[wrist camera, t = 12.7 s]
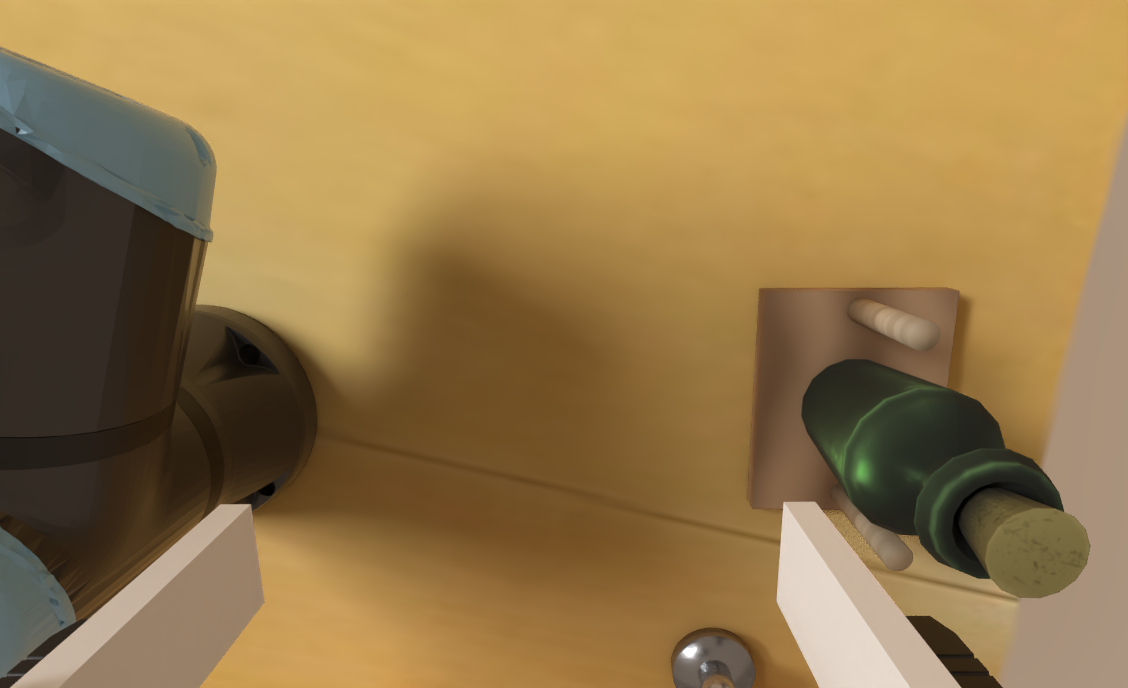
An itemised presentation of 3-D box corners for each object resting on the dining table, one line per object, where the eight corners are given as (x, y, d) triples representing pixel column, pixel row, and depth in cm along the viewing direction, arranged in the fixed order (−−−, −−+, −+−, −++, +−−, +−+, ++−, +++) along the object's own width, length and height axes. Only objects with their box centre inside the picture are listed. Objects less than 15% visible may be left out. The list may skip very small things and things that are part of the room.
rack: (747, 498, 45) (787, 575, 36) (759, 288, 42) (807, 313, 32) (920, 500, 45) (1006, 579, 35) (946, 287, 41) (1049, 312, 32)
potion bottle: (761, 420, 42) (882, 576, 25) (841, 320, 40) (1031, 412, 23) (858, 485, 43) (1042, 682, 25) (940, 390, 41) (1198, 530, 24)
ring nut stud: (670, 695, 49) (678, 750, 44) (672, 627, 48) (681, 675, 43) (748, 697, 49) (766, 753, 44) (753, 628, 47) (771, 678, 42)
